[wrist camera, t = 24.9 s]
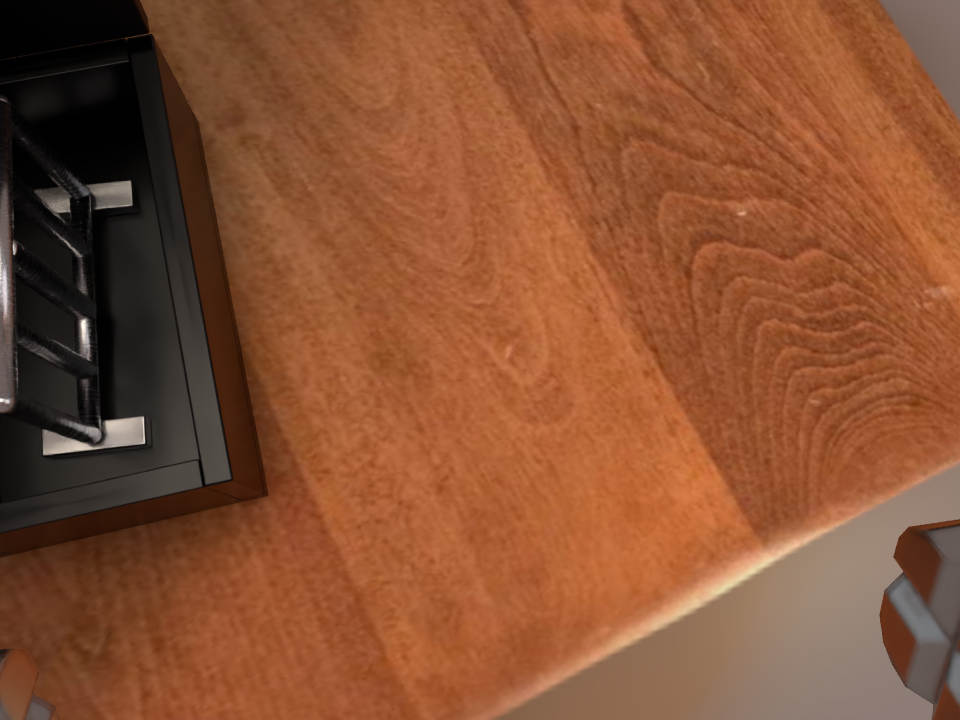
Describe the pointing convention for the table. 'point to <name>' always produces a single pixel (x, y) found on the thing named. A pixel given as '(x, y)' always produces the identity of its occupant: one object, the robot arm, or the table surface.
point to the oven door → (66, 24)
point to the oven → (128, 307)
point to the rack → (57, 294)
